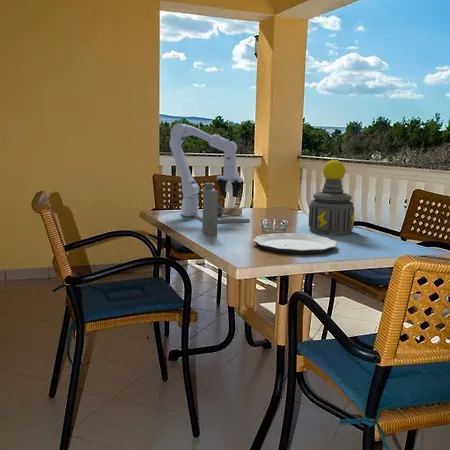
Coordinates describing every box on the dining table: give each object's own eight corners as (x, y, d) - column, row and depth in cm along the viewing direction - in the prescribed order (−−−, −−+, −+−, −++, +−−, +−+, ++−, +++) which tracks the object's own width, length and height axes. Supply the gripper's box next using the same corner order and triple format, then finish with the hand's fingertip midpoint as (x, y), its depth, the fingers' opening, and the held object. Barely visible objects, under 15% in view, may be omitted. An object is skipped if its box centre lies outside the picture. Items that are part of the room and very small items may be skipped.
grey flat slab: (193, 216, 248) (193, 213, 248) (236, 215, 256) (236, 212, 255) (205, 223, 230) (205, 219, 230) (251, 222, 237) (251, 218, 237)
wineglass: (219, 212, 264) (220, 171, 260) (235, 211, 268) (236, 171, 264) (226, 215, 256) (228, 172, 253) (242, 214, 260) (243, 172, 256)
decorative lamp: (343, 237, 206) (348, 161, 201) (300, 231, 216) (304, 159, 211) (359, 230, 222) (364, 160, 216) (318, 225, 231) (321, 158, 226)
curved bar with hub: (204, 216, 238) (204, 205, 237) (201, 214, 243) (201, 204, 242) (243, 215, 244) (243, 204, 243) (239, 213, 249) (239, 203, 248)
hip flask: (217, 236, 202) (219, 184, 198) (207, 236, 201) (208, 184, 197) (209, 228, 217) (210, 181, 214) (199, 229, 216) (200, 181, 213)
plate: (271, 258, 168) (271, 251, 168) (243, 240, 196) (243, 234, 195) (351, 254, 176) (352, 247, 176) (313, 238, 204) (314, 232, 204)
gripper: (212, 166, 246) (212, 195, 248) (235, 168, 236) (234, 198, 238) (222, 166, 251) (222, 194, 253) (245, 168, 241) (244, 197, 244)
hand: (228, 196), depth 246 cm, fingers open, 7 cm apart
